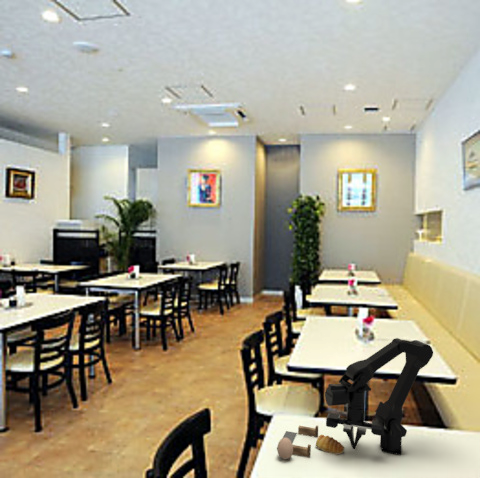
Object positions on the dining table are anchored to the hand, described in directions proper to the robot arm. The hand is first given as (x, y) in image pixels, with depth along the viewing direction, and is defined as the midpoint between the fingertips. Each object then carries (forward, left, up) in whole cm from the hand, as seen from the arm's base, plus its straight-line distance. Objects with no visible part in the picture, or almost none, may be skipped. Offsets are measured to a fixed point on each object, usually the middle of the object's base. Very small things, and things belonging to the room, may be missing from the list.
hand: (354, 448), depth 155 cm
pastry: (+8, -1, -2) cm, 9 cm away
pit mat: (+23, 0, -2) cm, 23 cm away
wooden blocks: (+17, 0, -2) cm, 17 cm away
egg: (+21, +12, -2) cm, 24 cm away
